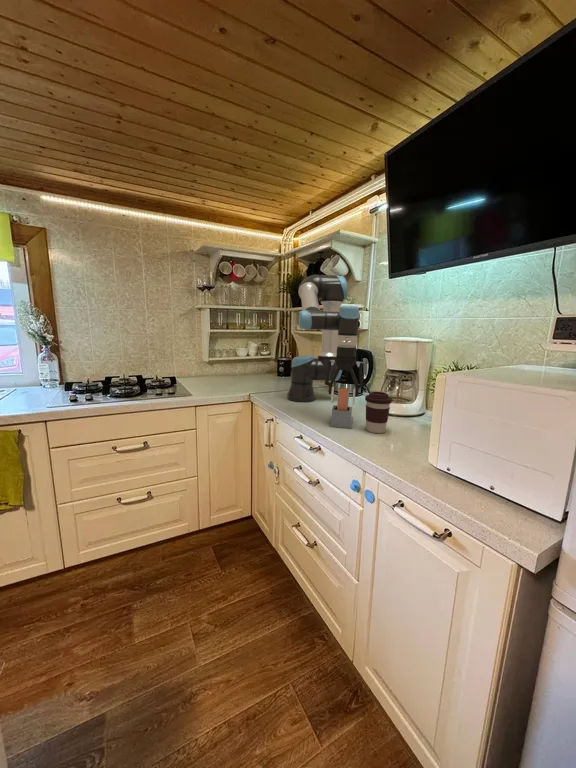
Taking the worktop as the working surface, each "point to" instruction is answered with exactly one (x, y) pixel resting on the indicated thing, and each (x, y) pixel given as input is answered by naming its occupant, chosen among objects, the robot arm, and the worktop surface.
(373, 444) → the worktop surface
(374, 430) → the coffee cup
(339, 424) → the grey holder stand
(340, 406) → the orange rectangular bar
